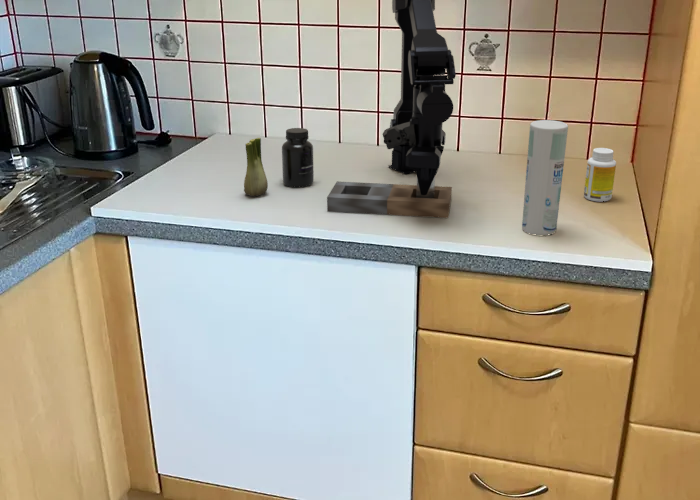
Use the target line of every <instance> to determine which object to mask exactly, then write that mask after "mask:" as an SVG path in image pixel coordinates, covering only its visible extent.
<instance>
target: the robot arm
mask: <svg viewBox="0 0 700 500" xmlns="http://www.w3.org/2000/svg"><path fill="white" fill-rule="evenodd" d="M391 5H392V6H391V11H392V13H393V14H394V20H395V22H396V24H397V26H398V27H399V29H400V31H401V59H400V60H401V69H400V70H401V72H400V73H401V76H400V100H399V101H398V102H397V104H396V106H395V108H394V109H393V114H392V115H393V117H392V119H390V123H389V127H387V128H386V129H385V130H384V131H383V133H382V137H383V144H385V146H386V148H387V150H391V164H389V165H388V168H389V169H391V170H394V171H397V172H399V173H401V174H405V175H406V174H407V175H408V174H413V173H415V174H416V180H417V179H418V183H419V188H420V193H421V195H427V193H428V190H429V188H430V186H431V184H432V181H433V179H434V177H435V178H436V174H437V173H438V171H439V169H440V165H441V156H442V155H443V152H444V148H445V144H446V133H447V132H446V131H444V130H443V123H445V122H447V121H448V120H449V119H450V118H451V117H452V115H453V112H454V103H453V100H452V99H451V98H452V97H450V96H449V94H448V93H447V92H446V85H454V81H455V80H454V79H456V66H455V59H454V56H453V54H452V50H451V49H449V47H448V44H447V39H446V38H445V37H444V36H442V35H441V34H439V33H438V30H437V26H436V20H435V19H436V18H435V16H434V15H435V13H434V11H436V0H392V1H391ZM392 149H393V150H392Z"/></svg>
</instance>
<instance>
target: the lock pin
mask: <svg viewBox="0 0 700 500" xmlns="http://www.w3.org/2000/svg"><path fill="white" fill-rule="evenodd" d="M435 184H436V176H435V177H434V179H433V181H432V184H431V186H430V188H429V190H428V193H427V195H421V193H420V188H419V183H418V179H417V178H416V184H415V185H416V198H430V199H434V190H435V186H436V185H435Z"/></svg>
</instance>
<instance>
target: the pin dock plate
mask: <svg viewBox="0 0 700 500" xmlns="http://www.w3.org/2000/svg"><path fill="white" fill-rule="evenodd" d="M416 185H417V184H399V183H398V184H397V183H380V182H379V183H374V182H361V181H360V182H356V181H355V182H354V181H353V182H352V181H339V180H338V181H336V182H335V183H334V185H333V187H332V188H331V190H330V192H329V193H328V195H327V197H326V203H327V204H326V205H327V206H326V207H327V209H326V210H327V212H335V213H351V214H352V213H353V214H367V215H368V214H371V215H372V214H373V215H388V216H403V217H404V216H406V217H425V218H440V219H441V218H442V219H443V218H444V219H448V218H449V216H450V209H451V204H452V191H453V190H452V189H453V187H452V186H438V185H435V190H434V199H430V198H416Z"/></svg>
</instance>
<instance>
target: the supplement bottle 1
mask: <svg viewBox="0 0 700 500" xmlns="http://www.w3.org/2000/svg"><path fill="white" fill-rule="evenodd" d="M309 137H310V136H309V129H307V128H304V127H303V128H302V127H294V128H293V127H292V128H288V129H286V130H285V140H286V141H285V142H284V143H283V144H282V146H281V159H282V160H281V163H282V165H281V167H282V183H283V184H284V185H285V186H287V187H290V188H296V189H298V188H306V187H310V186H312V185H313V183H314V180H315V179H314V175H315V174H314V146H313V144H312V142H310V141H308V140H309Z"/></svg>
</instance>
